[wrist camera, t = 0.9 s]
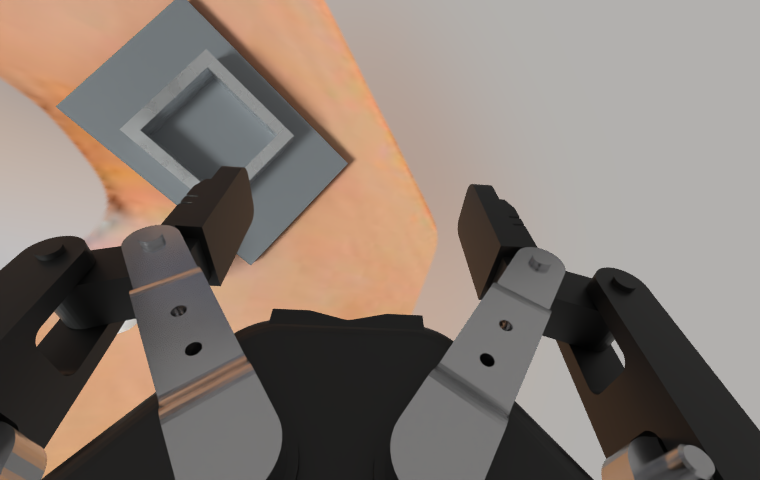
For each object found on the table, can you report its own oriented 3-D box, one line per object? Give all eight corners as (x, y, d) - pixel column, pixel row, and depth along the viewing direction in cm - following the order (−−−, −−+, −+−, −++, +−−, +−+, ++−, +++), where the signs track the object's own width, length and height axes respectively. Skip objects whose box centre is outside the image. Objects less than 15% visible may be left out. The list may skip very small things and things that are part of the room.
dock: (65, 110, 28) (33, 97, 25) (185, 2, 30) (171, -25, 26) (251, 263, 34) (247, 270, 30) (346, 164, 35) (352, 160, 32)
